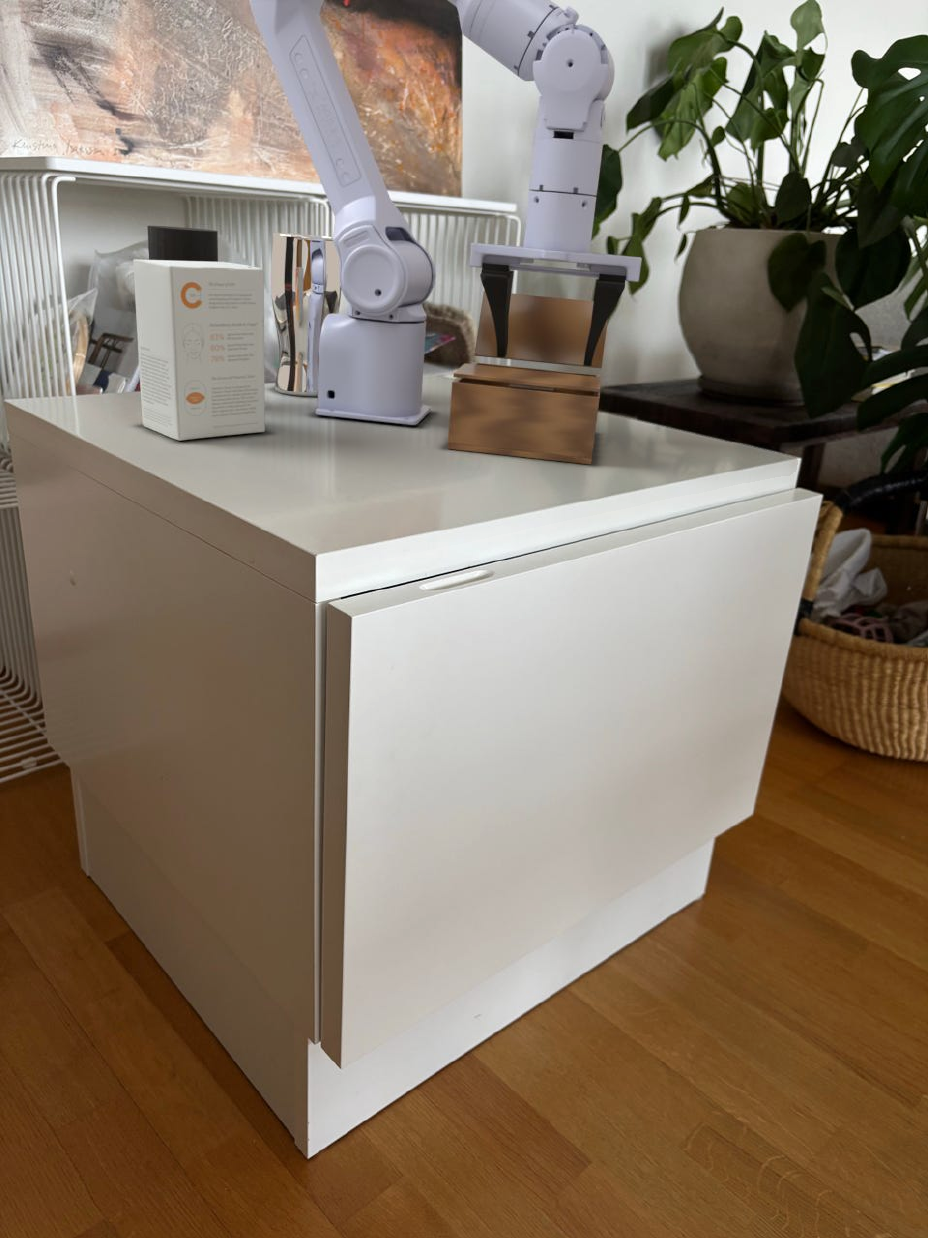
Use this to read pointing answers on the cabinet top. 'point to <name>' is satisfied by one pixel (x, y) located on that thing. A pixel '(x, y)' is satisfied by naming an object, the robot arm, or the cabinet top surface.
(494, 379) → the wooden box
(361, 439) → the cabinet top surface
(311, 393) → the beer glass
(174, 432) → the small box
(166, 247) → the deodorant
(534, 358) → the flap
